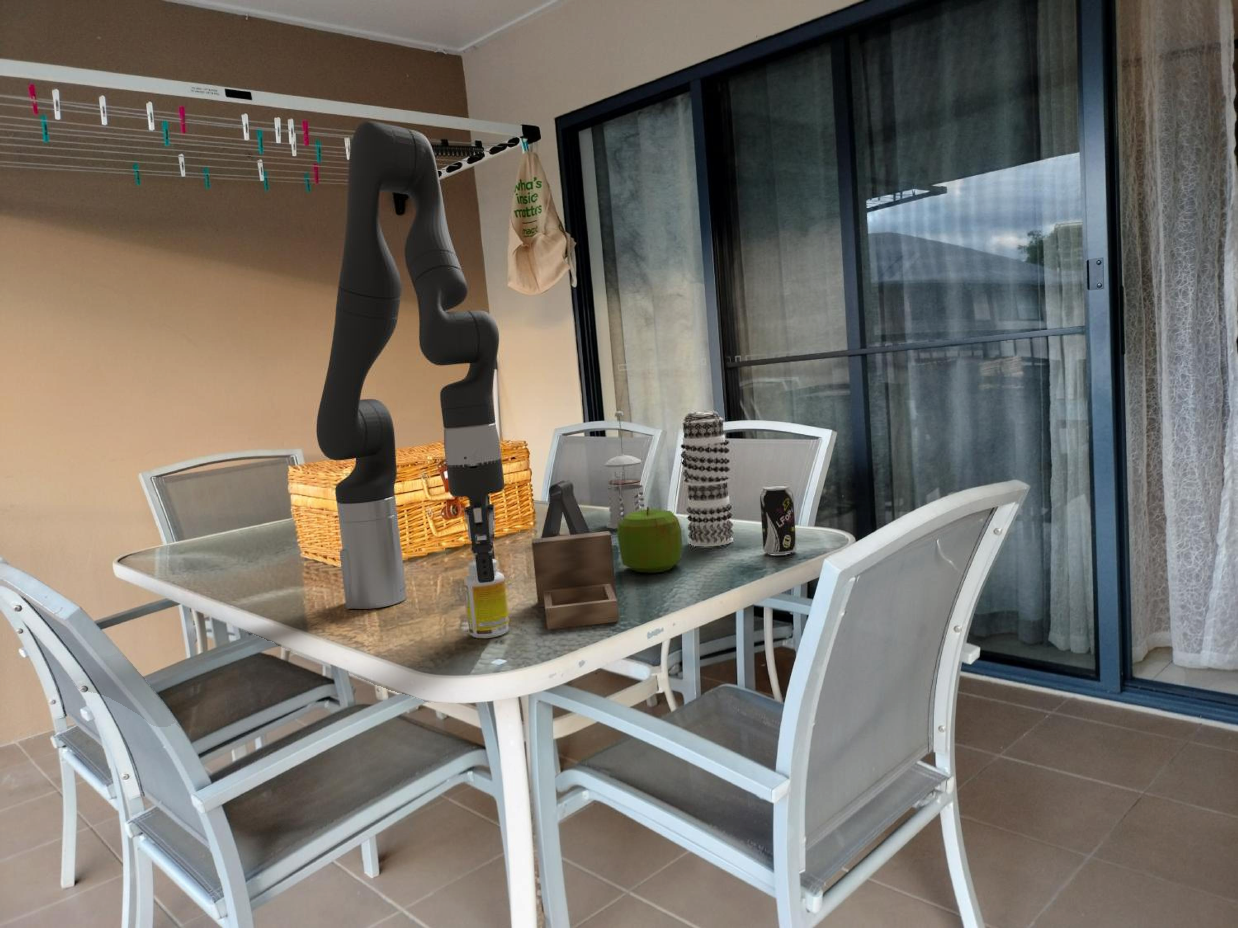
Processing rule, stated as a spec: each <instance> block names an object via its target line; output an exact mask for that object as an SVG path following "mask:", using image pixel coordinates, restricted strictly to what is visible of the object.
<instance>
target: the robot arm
mask: <svg viewBox="0 0 1238 928" xmlns="http://www.w3.org/2000/svg"><path fill="white" fill-rule="evenodd" d="M351 139H352V140H351V144H350V149H349V157H348V158H349V159H348V171H347V172H348V175H347V176H348V177H347V178H348V179H347V201H346V202H347V207H346V225H345V235H344V244H343V251H342V253H343V254H342V259H341V268H340V274H339V278H338V279H339V280H338V286H337V288H338V289H337V294H336V295H337V296H336V306H335V317H334V326H333V327H334V328H333V333H332V342H331V348H330V354H329V359H328V365H327V366H328V367H327V371H326V375H325V380H324V385H323V388H322V394H321V399H320V402H319V407H318V412H317V418H316V439H317V444H318V447H319V449H320V451H321V452H322V454H323V455H324V456H325V457H327V458H328V459H329V460H331V461H348V460H352V459H353V460H354V459H355V465H354V467H353V469H352V470H351V472H350V473H349V474H348V475H347V477H345V478H343V479H342V480H340V481H339V482H338V483H337V484H336V485H335V487H334V488H335V491H334V493H335V501H336V507H337V515H338V524H339V531H340V532H339V533H340V539H341V540H340V541H341V549H340V551H339V559H340V567H341V576H342V584H343V592H344V600H345V607H346V609H347V610H350V609H358V610H361V609H362V610H370V609H378V608H384V607H388V606H389V607H390V606H393V605H396V604H399V603H401V602H403V601H405V600H406V599H407V598H408V597H407V586H406V579H405V570H404V562H403V552H402V546H401V545H402V544H401V534H400V525H399V518H398V510H397V501H396V491H395V484H396V482H397V481H396V480H397V476H398V469H397V451H396V437H395V436H396V435H395V428H394V422H393V419H392V416H391V413H390V411H389V409H388V408H387V406H386V405H385V404H384V403H383V402H382V401H380V400H379V399H376V398H375V399H374V398H366V399H365V398H364V399H362V398H361V396H362V391H363V387H364V384H365V381H366V378H367V376H368V373H369V371H370V369H371V368H372V366H373V364H374V363H375V362H376V361H377V359H378V358H379V356H380V355H381V353H382V352H383V350H384V349H385V347H386V346H387V345H388V343H389V342H390V339H391V337H392V336H393V334H394V332H395V330H396V326H397V323H398V319H399V313H400V304H401V298H402V289H403V288H402V284H403V283H402V279H401V275H400V273H399V269H398V267H397V264H396V261H395V260H394V257H393V255H392V253H391V251H390V248H389V246H388V245H387V242H386V240H385V237H384V234H383V230H382V228H381V223H380V196H381V195H380V193H381V191H384V192H390V193H396V194H402V195H407V196H408V197H409V198H410V200H411V202H412V205H413V207H414V211H415V212H414V213H415V214H414V217H413V221H412V223H411V226H410V229H409V231H408V234H407V236H406V240H405V243H404V244H405V245H404V260H405V265H406V269H407V271H408V274H409V277H410V280H411V283H412V286H413V289H414V291H415V294H416V300H417V308H418V319H419V320H418V321H419V322H418V323H419V325H418V326H419V327H418V334H419V335H418V340H419V348H420V351H421V353H422V355H423V356H424V358H425V359H426V360H428V361H429V362H430V363H431V364H433V365H434V366H440V367H441V366H452V365H453V366H454V365H464V364H469V368H468V371H467V374H466V376H465V377H464V378H463V379H461V380H458V381H454V382H452V383H449V384H447V385H445V386H443V387H442V388H441V390H440V392H439V393H440V394H439V400H440V409H441V418H442V424H443V448H444V451H443V452H444V457H445V466H446V474H447V482H448V490H449V492H448V493H449V494H450V495H451V496H452V497H454V498H464V497H465V498H467V499H468V501H469V502H468V504H469V506H465V509H464V519H465V522H466V524H467V535H468V539H469V541H470V542H471V547H470V549H471V552H472V554H473V556H474V561H475V560H476V568H477V576H478V581H479V582H480V583H485V582H492V581H494V578H495V576H494V568H493V559H495V560H496V558H495V550H494V549H495V548H494V542H493V541H494V538H495V530H496V524H495V523H496V522H495V518H496V511H495V510H496V509H495V504H494V503H490V500H491V496H490V494H495V493H499V492H502V491H503V490H504V489H505V485H506V484H505V478H504V469H503V468H504V467H503V460H502V450H501V442H500V437H499V436H500V435H499V433H498V428H497V424H496V415H495V407H494V398H493V389H494V379H495V371H496V364H497V357H498V354H499V353H498V352H499V345H500V332H499V327H498V326H497V323H496V321H495V319H494V317H492V316H491V314H490V313H488V312H486V311H484V310H478V309H477V310H474V309H473V310H461V311H460V310H459V311H449V310H451V309H454V308H456V307H458V306H460V305H461V304H463V302H464V301H465V300H466V298H467V296H468V292H469V288H468V283H467V281H466V277H465V275H464V272H463V269H462V267H461V265H460V261H459V258H458V256H457V253H456V251H455V248H454V244H453V242H452V239H451V236H450V232H449V228H448V227H449V226H448V224H447V223H448V222H447V216H446V210H445V203H444V199H443V198H444V197H443V194H442V187H441V182H440V177H439V172H438V167H437V162H436V158H435V154H434V153H435V152H434V150H433V148H432V145H431V142H430V141H429V139H428V138H427V136H425V135H424V133H421V132H419V131H417V130H413V129H409V128H408V127H407V128H405V127H401V126H398V125H393V124H388V123H382V122H380V121H379V122H378V121H373V120H365V121H362V122H361V123H360V124H358V126H357V127H356V129H355V131H354V133H353V136H352V138H351Z"/></svg>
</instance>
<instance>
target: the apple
mask: <svg viewBox="0 0 1238 928" xmlns="http://www.w3.org/2000/svg"><path fill="white" fill-rule="evenodd" d="M616 534H617V541H618V547H619V548H618V549H619V552H620V553H619V554H620V557H621V562H622V565H623V566H625V567H627V568H628V569H631V570H633V571H635V572H637V573H647V574H648V573H650V574H651V573H662V572H667V571H670V570H671V569H672V568H673V567H674V566H675V565H677V563H678V562H679V561H680V560H681V559H682V548H683V538H682V537H683V535H682V528H681V524H680V521H679V519H678V517H677V515H675V513H673V512H672V511H671V510H665V509H651V508H650V507H648V506H647V507H646V509H645V510H639V511H636V512H632V513H630V514H627V515H626V516H625V517H624V518H623V519H622V520H621V521H620V522H619V523H618V529H617V531H616Z"/></svg>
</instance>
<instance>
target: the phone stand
mask: <svg viewBox="0 0 1238 928" xmlns="http://www.w3.org/2000/svg"><path fill="white" fill-rule="evenodd" d="M548 494H549V503H548V507H547V511H546V514H545V515H546V516H545V520H544V523H543V527H542V533H541V536H540V538H548V537H558V536H567V535H568V534H561V533H560V531H561V525H562V520H563V517H564V519H565V522H566V526H567V528H568V531H569V535H577V534H586V533H591V531H590V529H589V527H588V525H587V522H586V520H585V518H584V514H583V513H582V511H581V510H582V509H581V508H580V506H579V504H578V501H577V499H576V496H575V494H574V485H573V482H572V481H570V480H561V481H559V482H557V483H555V484H554V483H553V484H552V485H551V486H550V487H549V488H548Z"/></svg>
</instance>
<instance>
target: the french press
mask: <svg viewBox="0 0 1238 928" xmlns="http://www.w3.org/2000/svg"><path fill="white" fill-rule="evenodd" d="M614 417H616V418H617V417H618V421H619V423H618V424H619V435H620V446H621V454H620V455H617V456H615V457H612V458H610V459H609V460H608V461H607V462H605V463H604V466H605V467H606V468H623V471H621V473H620V474H619V475H620V476H618V475H617V473H616V471H614V472H613V474H612V480H609V481H608V484H609V485H611V487H607V494H608V497H607V498H608V501H609V502H608V506H609V508H608V510H609V511H608V512H609V519H610V520H609V522H608V523H607V524H606V528H609V529H615V530H616V529H617V530H618V523H619V522H620V521H621V520H622V519H623V518H624V517H625V516H626V515H627V514H630V513H632V512H636V511H639V510H646V509H645V498H644V497H645V496H644V486H643V485H642V484H639V483H640V482H641V480H642V479H641V478H637V477H631V478H630V477H626V475H625V474H626V473H625V467H630V466H636V465H640V464H641V463H642V460H641V459H640V458H638V457H635V456H633V455H627V454H624V451H623V450H624V449H623V439H622V438H623V437H622V428H621V427H622V426H621V417H624V412H623V411H621V410H618V411H616V412H615V413H614ZM615 478H616V479H615ZM639 501H640V502H639ZM621 507H622V508H621Z"/></svg>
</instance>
